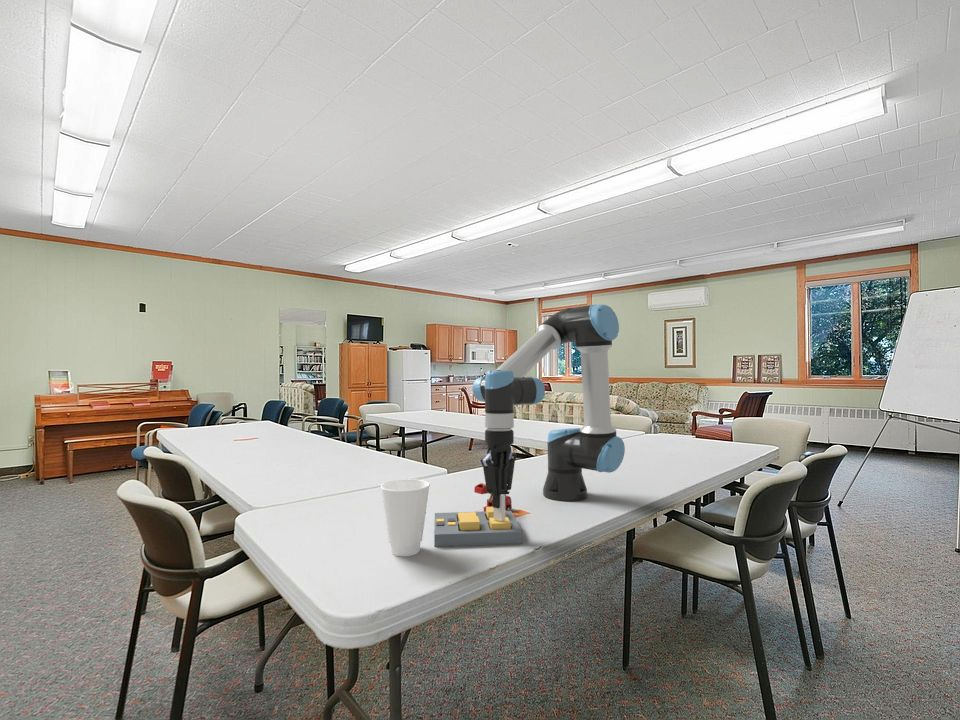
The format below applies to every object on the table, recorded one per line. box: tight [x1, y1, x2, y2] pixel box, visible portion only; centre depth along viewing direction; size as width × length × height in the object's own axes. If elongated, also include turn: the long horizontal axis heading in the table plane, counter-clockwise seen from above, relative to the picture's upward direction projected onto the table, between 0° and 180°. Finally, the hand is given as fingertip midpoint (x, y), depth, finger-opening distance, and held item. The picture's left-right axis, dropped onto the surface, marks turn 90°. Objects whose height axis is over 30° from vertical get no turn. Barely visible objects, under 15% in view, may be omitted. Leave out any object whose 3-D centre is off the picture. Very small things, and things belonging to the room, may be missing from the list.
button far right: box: [458, 511, 477, 521], centre depth 133 cm, size 5×5×3 cm
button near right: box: [459, 516, 480, 531], centre depth 125 cm, size 5×5×3 cm
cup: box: [380, 478, 431, 557], centre depth 116 cm, size 12×12×16 cm
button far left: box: [486, 507, 507, 520], centre depth 133 cm, size 5×5×3 cm
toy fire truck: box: [473, 482, 513, 512], centre depth 146 cm, size 3×14×10 cm, turn 134°
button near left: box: [489, 517, 511, 530], centre depth 125 cm, size 5×5×3 cm
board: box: [433, 510, 523, 548], centre depth 129 cm, size 22×18×3 cm
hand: (499, 519), depth 125 cm, fingers closed
